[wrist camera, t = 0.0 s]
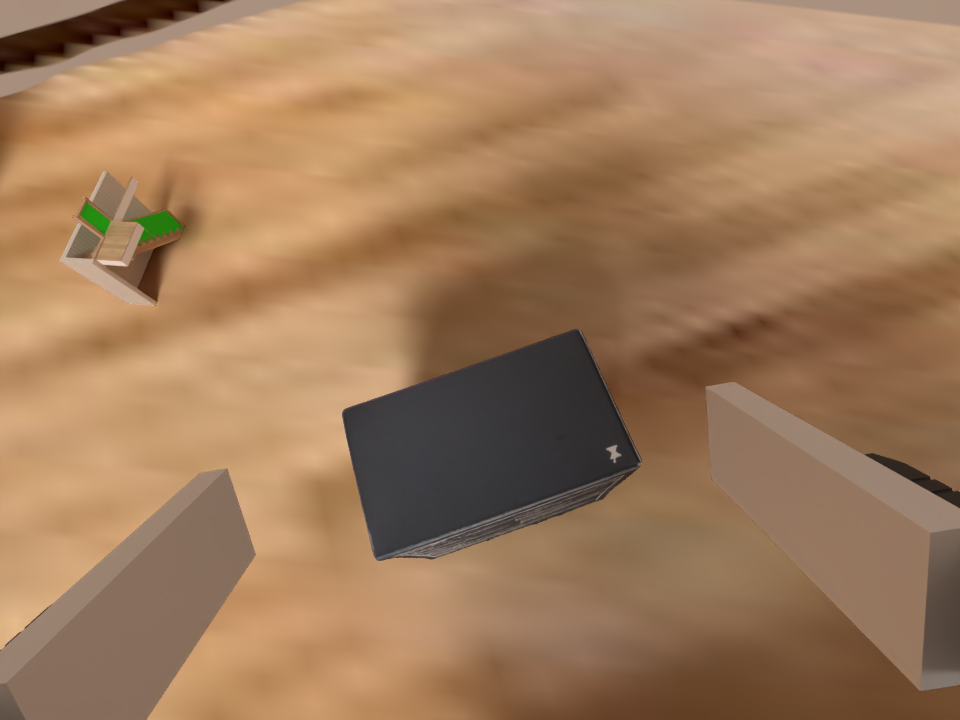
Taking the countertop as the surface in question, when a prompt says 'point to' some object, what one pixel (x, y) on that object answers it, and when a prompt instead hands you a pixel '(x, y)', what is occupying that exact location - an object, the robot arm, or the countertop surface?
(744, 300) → the countertop surface
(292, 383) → the countertop surface
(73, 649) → the robot arm
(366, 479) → the small box
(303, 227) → the countertop surface
